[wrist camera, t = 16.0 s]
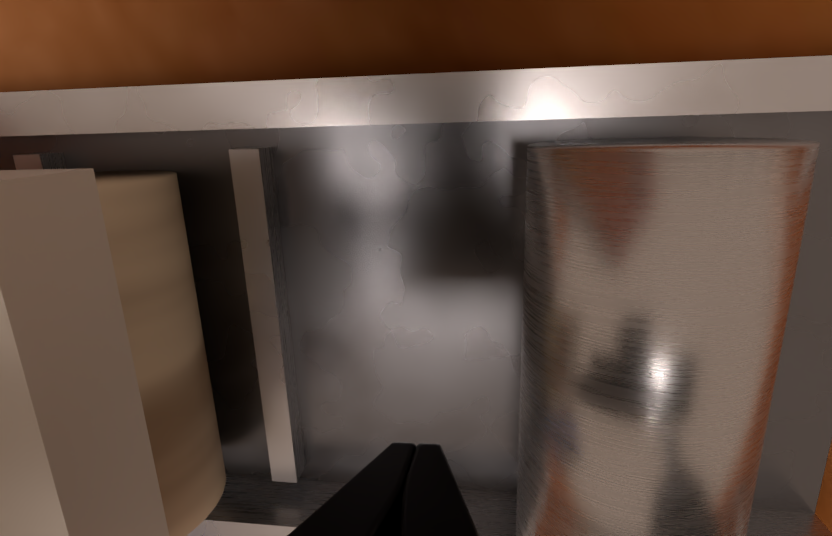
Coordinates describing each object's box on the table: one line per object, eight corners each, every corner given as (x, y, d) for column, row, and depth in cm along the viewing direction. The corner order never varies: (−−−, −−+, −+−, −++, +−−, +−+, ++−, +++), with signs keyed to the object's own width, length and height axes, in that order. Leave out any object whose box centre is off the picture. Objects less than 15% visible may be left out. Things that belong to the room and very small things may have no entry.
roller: (220, 171, 13) (1, 201, 9) (261, 468, 16) (108, 606, 11) (93, 169, 15) (-136, 193, 11) (147, 432, 18) (-19, 538, 13)
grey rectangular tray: (885, 63, 12) (1707, -46, 4) (788, 515, 16) (1108, 940, 8) (-119, 105, 16) (-753, 94, 8) (-8, 461, 19) (-358, 705, 11)
